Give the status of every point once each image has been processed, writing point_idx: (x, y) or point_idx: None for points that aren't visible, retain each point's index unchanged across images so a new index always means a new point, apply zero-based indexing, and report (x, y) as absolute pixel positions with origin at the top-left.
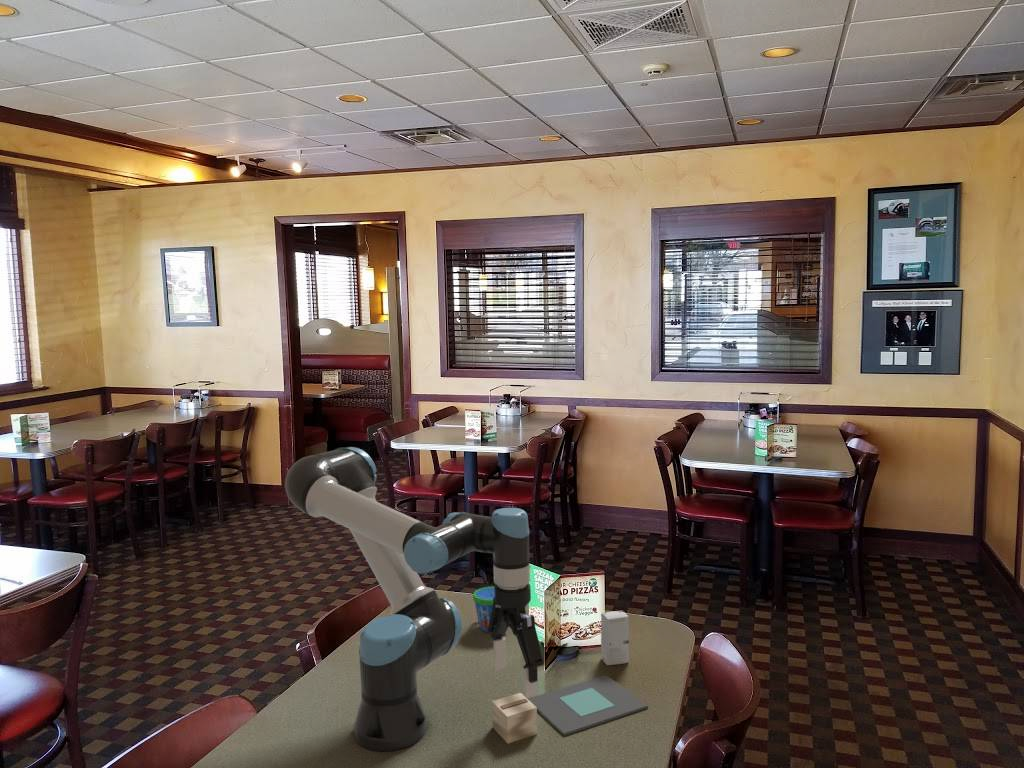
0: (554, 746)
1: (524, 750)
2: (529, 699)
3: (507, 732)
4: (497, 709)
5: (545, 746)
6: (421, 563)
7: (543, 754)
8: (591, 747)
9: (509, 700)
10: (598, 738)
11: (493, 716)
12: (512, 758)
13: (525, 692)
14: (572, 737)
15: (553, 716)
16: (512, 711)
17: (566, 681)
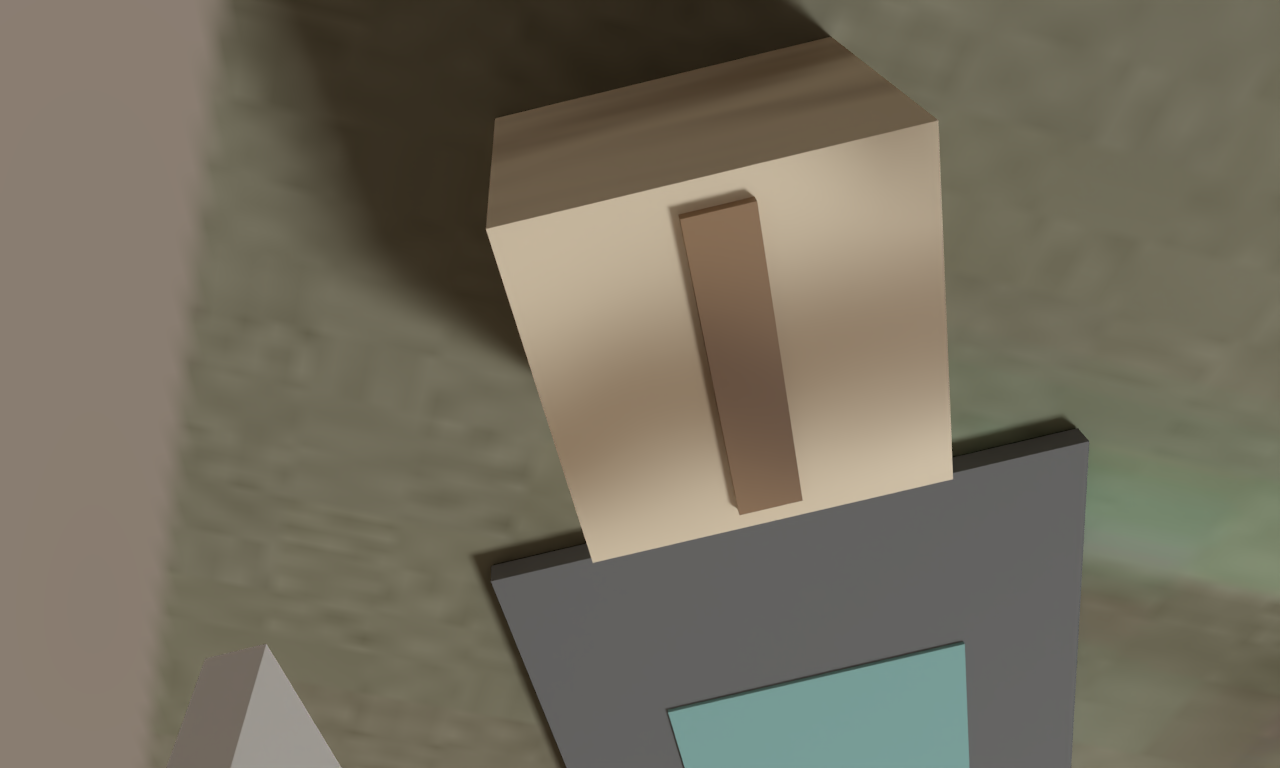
0: (366, 477)
1: (348, 242)
2: (1066, 458)
3: (492, 155)
4: (762, 147)
5: (379, 417)
6: None
7: (261, 377)
8: (308, 681)
9: (850, 335)
10: (410, 733)
11: (840, 76)
12: (227, 100)
13: (209, 721)
14: (460, 607)
15: (745, 562)
16: (593, 316)
17: (1156, 707)
